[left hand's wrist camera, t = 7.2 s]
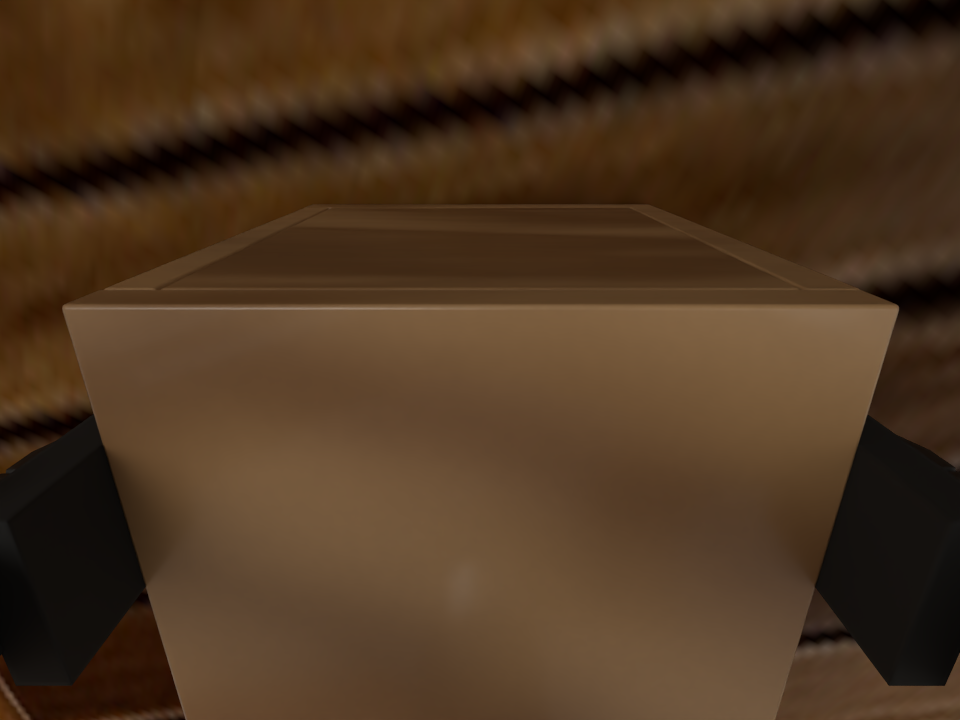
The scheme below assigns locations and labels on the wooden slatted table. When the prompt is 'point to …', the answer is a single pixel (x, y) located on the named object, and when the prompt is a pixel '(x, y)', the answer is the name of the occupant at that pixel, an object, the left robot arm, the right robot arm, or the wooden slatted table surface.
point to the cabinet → (480, 460)
